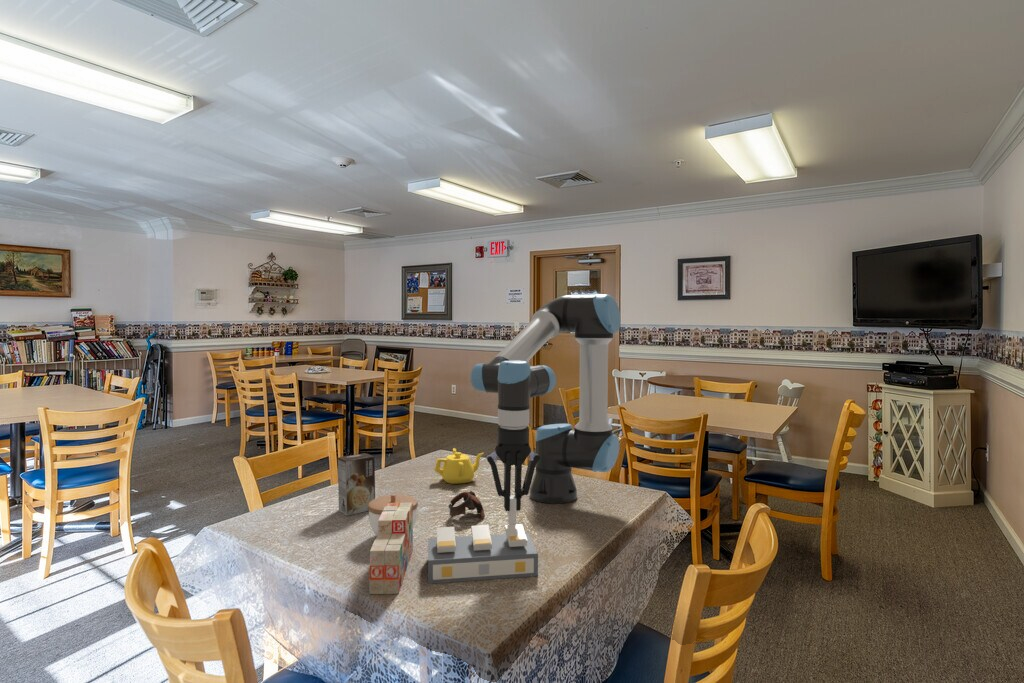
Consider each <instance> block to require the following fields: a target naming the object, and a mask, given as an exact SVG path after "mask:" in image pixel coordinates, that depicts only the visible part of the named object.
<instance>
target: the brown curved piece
mask: <svg viewBox="0 0 1024 683" xmlns="http://www.w3.org/2000/svg"><path fill="white" fill-rule="evenodd" d="M460 500H463V502H462V503H461V504H458V505H455V504H457V502H459V501H460ZM449 502H450V503H449V504H448V508H449V516H451V518H453V517H456V516H460V515H464V516H466V515H467V513H466V512H467V511H466V510H467V509H468V510H469V511H470V510H471V511H474V510H476V513H477V515H478V514H479V515H480V517H481V520H484V519H485V517H486V514H485V510H484V507H483V505H482V502H481V500H480V499H479V498H478V497H477V496H476V493H475V492H474V491H473V490H470V491H463V492H460V493H458V494H457V495H455V496H454V497H453V498H452V499H451V500H450V501H449ZM466 508H467V509H466Z"/></svg>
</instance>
